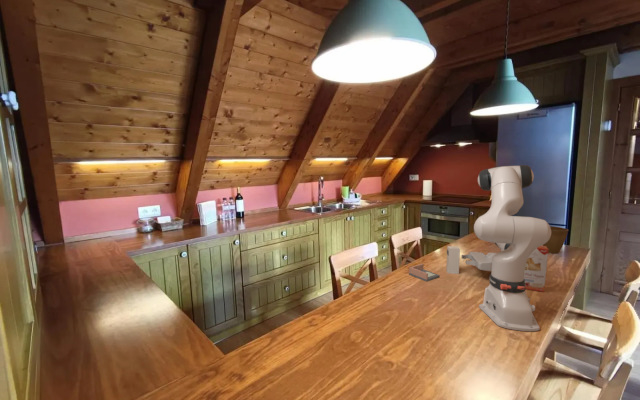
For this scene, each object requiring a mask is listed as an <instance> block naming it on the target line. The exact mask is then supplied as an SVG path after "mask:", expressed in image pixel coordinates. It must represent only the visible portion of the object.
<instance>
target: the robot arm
mask: <svg viewBox="0 0 640 400" xmlns="http://www.w3.org/2000/svg"><path fill="white" fill-rule="evenodd" d="M534 178H535V174H534V172H533V170H532V169H531V167H530V165H527V164H520V165H506V166H505V165H503V166H497V167H491V168H485V169H483V170H481V171H479V173H478V177H477V183H478V186H479V187H480V189H481V190H483V191H484V192H486V191H487V192H490V191H491V204H490V206H489V207H490V208H489V209H488V210H487V212H485V213H484V214H482V215H480V216H478V218H477V219H476V220H475V222H474V224H473V232H474V234H475V237H476V238H477V239H479V240H481V241H484V242H488V243H489V242H490V243H492V244H495V246H496V247H498V249H499V250H500V251H498V252H487V254H485V253H484V252H479V251H468V254H461V259H463V260H465V264H466V265H471V266H474V267H476V268H477V269H478V270H480V271H485V272H486V271H487V272H491V273H490V274H489V277H488V278H489V285H488V286H486V287H485V289H484V296H483V303H479V306H478V308H480V310H481V311H482V312H483V313H484V314H485V315H486V316H487V317H488V318H490V320H492V322H493V323H495V325H496V326H498V327H501V328H505V329H508V330H514V331H520V332H521V331H523V332H537V331H540V330H541V328H540V325H539V324H538V321H537V318H536V317H535V315H534V314H533V312H535V311H536V306H535V304H531V303H530V301H531V297H528V294H527V293H526V290H527V289H525V280H524V271H525V266H526V261H527V259H528V257H529V256H530V254H531V253H532V252H533V251H534V250H535V249H536V248H538V247H539V246H543V244H545V243H546V242H547V241H548V240H549V239H550V237H551V228H550V226H551V225H550V224H549V223H548V221H546V220H545V219H543V218H538V217H532V216H519V215H517V216H516V215H515V214H517V213H519V210H520V209H521V208H522V207H523V205H524V196H523V195H524V194H523V189H525V188H528V187H530V186H531V185H532V184H533V181H534ZM466 259H470V260H466Z"/></svg>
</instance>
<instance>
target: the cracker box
mask: <svg viewBox="0 0 640 400" xmlns="http://www.w3.org/2000/svg"><path fill="white" fill-rule="evenodd" d="M548 251H549V249H548V248H547V247H546V246H543V245H541V246H539V247H538V248H536V249H535V250H534V251H533V252H532V253H531V254H530V256H529V257H528V259H527V261H526V266H525V271H524V280H525V289H526V290H528V291H529V290H530V291H536V292H541V293H544V292H545V287H546V278H547V277H546V275H547V269H548V261H549V260H548V259H549V253H548Z"/></svg>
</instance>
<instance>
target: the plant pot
mask: <svg viewBox="0 0 640 400" xmlns="http://www.w3.org/2000/svg"><path fill="white" fill-rule="evenodd" d="M549 226H550V228H551V237H550V239H549V240H548V241H547V242H546V243H545V244H543V245H542V246H546V247H547V248H548V249H549V251H548V254H559V253H560V252H561V250H562V248H563V246H564V244H565V242H566V239H567V236H568V233H569V229H567V228H565V227H560V226H551V225H549Z"/></svg>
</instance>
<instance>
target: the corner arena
mask: <svg viewBox="0 0 640 400" xmlns="http://www.w3.org/2000/svg"><path fill="white" fill-rule="evenodd" d="M424 265H425V264H423V263H419V264H416V265H413V266H412V265H411V266H409V267H408V275H410V276H412V277H414V278H416V279H420V280H421V281H424V282H429V281H432V280H434V279H438V278H440V275H439V274H438V273H435V272H432V271H429V270H427V269H424Z"/></svg>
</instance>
